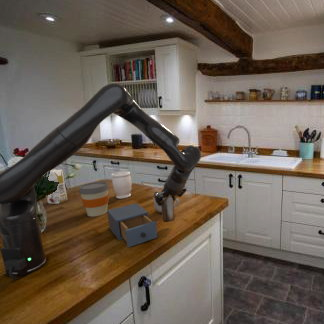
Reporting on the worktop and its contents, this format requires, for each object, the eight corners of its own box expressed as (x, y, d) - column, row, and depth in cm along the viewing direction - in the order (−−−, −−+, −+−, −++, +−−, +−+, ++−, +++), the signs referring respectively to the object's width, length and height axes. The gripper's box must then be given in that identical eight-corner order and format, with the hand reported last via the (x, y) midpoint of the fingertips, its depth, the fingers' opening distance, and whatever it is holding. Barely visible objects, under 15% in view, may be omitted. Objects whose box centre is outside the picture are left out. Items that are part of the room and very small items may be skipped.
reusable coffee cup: (113, 206, 136) (109, 180, 133) (109, 215, 124) (105, 187, 121) (86, 210, 131) (82, 183, 128) (80, 219, 120) (75, 190, 117)
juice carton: (58, 204, 139) (52, 172, 136) (45, 203, 141) (39, 171, 137) (69, 200, 147) (64, 169, 143) (57, 199, 148) (52, 168, 144)
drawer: (158, 238, 100) (157, 222, 98) (129, 248, 92) (127, 232, 91) (145, 226, 110) (144, 212, 109) (117, 234, 103) (115, 219, 101)
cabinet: (149, 230, 109) (148, 212, 107) (118, 240, 100) (116, 220, 98) (138, 219, 119) (136, 203, 117) (109, 228, 111) (107, 210, 109)
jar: (114, 195, 155) (112, 172, 152) (133, 192, 159) (130, 170, 156) (113, 200, 145) (110, 176, 142) (132, 197, 149) (130, 174, 146)
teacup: (150, 212, 127) (148, 198, 126) (166, 205, 137) (164, 191, 135) (169, 217, 121) (168, 202, 119) (185, 210, 130) (184, 195, 129)
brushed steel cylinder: (172, 222, 108) (170, 196, 106) (160, 222, 108) (158, 196, 106) (176, 217, 113) (174, 192, 111) (165, 217, 114) (163, 192, 111)
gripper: (188, 171, 106) (177, 192, 117) (155, 178, 96) (146, 199, 107) (195, 186, 103) (183, 205, 114) (161, 194, 93) (152, 214, 105)
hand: (165, 202), depth 111 cm, fingers closed on brushed steel cylinder, 5 cm apart
